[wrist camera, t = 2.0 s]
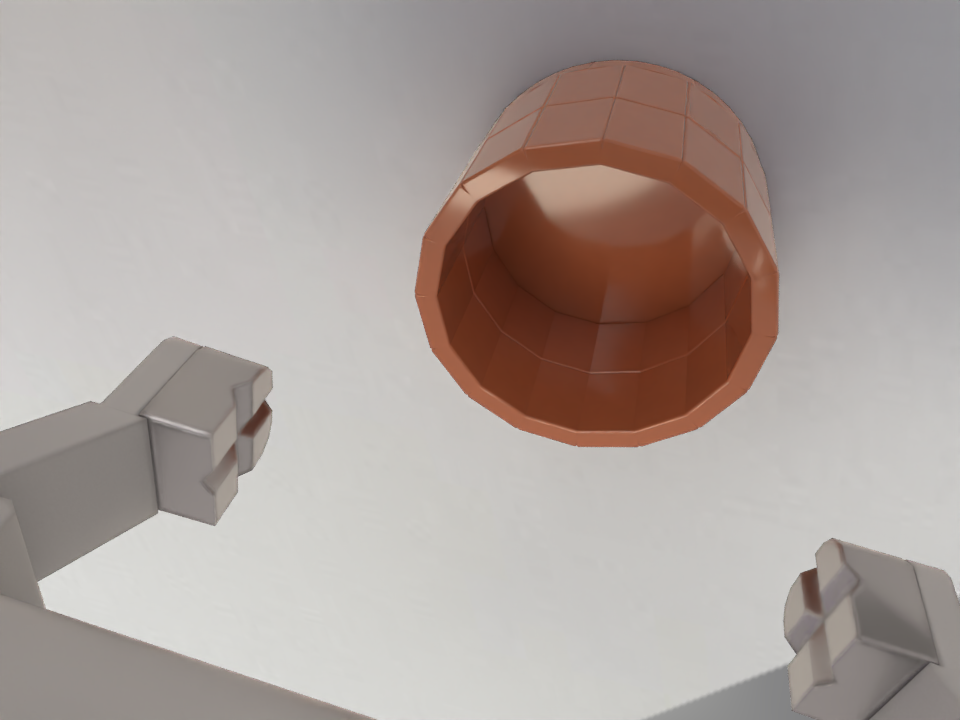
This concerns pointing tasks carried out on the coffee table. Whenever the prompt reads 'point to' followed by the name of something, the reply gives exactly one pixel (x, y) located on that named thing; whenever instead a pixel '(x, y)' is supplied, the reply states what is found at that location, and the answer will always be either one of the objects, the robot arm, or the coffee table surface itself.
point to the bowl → (605, 260)
